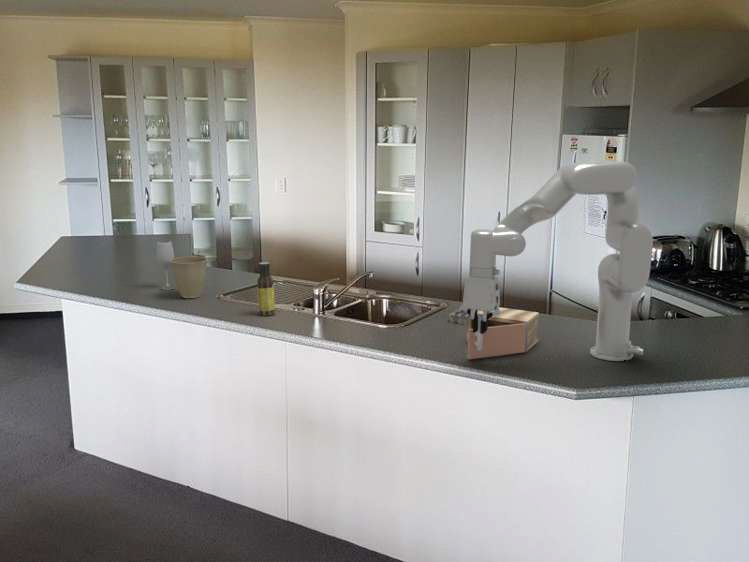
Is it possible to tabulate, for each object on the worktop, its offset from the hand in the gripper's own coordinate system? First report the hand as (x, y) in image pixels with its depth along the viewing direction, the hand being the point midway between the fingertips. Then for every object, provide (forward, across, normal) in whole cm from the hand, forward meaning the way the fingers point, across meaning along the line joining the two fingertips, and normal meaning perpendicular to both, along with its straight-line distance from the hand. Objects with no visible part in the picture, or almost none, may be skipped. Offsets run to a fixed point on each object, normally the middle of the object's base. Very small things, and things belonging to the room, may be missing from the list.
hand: (479, 331), depth 209 cm
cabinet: (+9, +1, -22) cm, 24 cm away
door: (+9, -4, -8) cm, 13 cm away
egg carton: (+10, +22, -41) cm, 47 cm away
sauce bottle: (+11, +91, -12) cm, 92 cm away
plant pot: (+12, +136, -18) cm, 137 cm away
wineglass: (+12, +156, -24) cm, 158 cm away
